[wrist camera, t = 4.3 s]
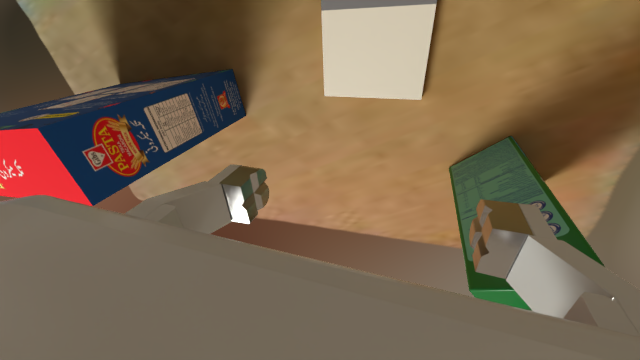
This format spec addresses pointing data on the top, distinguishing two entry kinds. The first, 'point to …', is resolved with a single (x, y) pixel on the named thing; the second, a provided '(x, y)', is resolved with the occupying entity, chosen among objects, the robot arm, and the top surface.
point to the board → (376, 47)
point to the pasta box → (111, 135)
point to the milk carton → (514, 187)
